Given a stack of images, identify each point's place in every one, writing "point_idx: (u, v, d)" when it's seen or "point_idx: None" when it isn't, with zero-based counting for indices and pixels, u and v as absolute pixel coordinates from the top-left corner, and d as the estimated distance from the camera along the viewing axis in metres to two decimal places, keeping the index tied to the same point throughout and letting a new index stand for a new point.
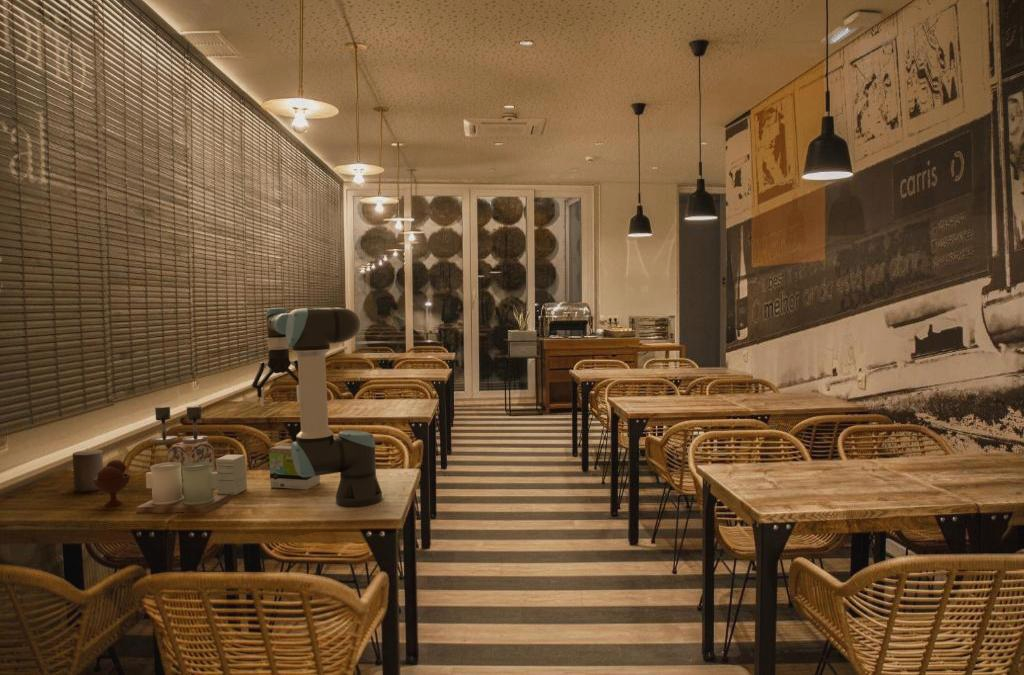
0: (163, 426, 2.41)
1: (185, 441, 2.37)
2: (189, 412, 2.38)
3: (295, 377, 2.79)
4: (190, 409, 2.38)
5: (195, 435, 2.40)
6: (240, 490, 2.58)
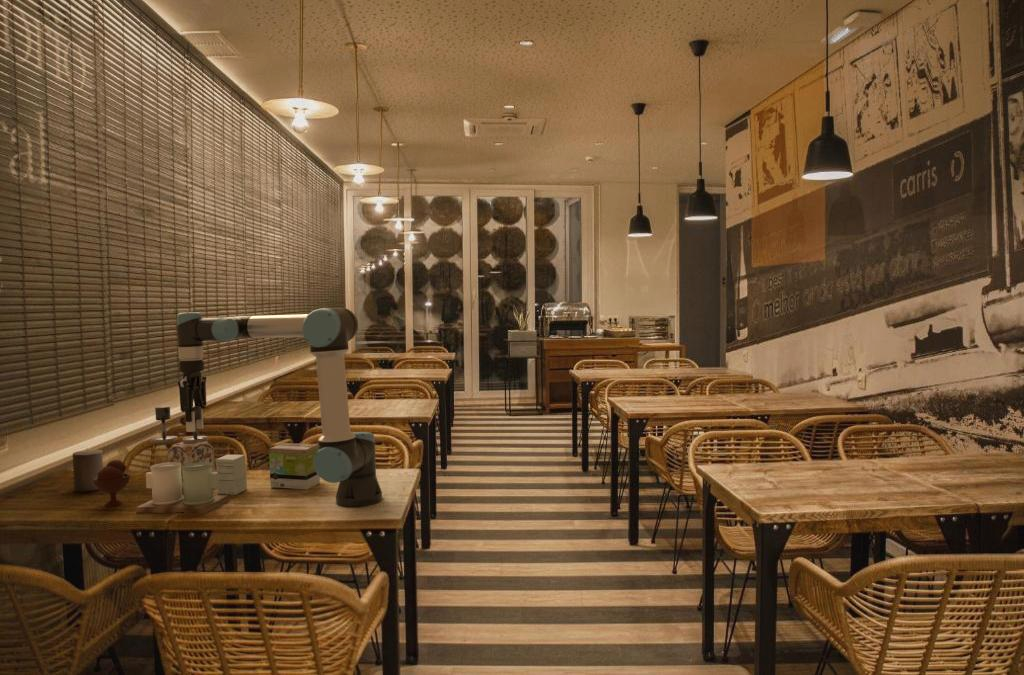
0: (163, 426, 2.41)
1: (185, 441, 2.37)
2: None
3: (201, 397, 2.42)
4: None
5: (195, 435, 2.40)
6: (240, 490, 2.58)
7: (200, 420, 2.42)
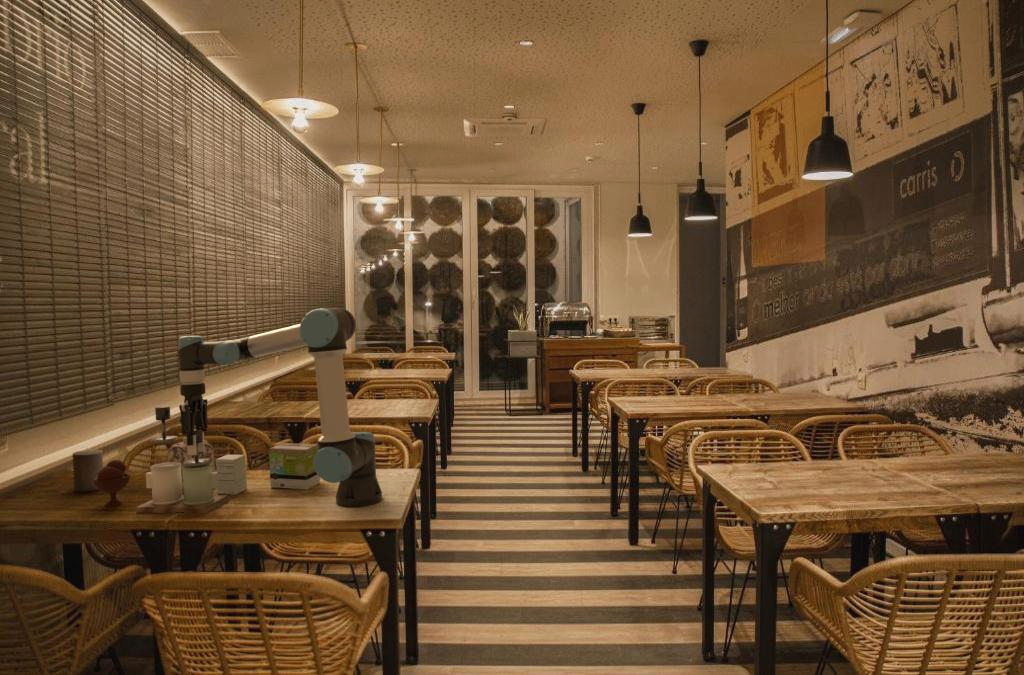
0: (163, 426, 2.41)
1: (186, 465, 2.38)
2: None
3: (202, 420, 2.43)
4: None
5: (196, 458, 2.41)
6: (240, 490, 2.58)
7: (201, 443, 2.43)
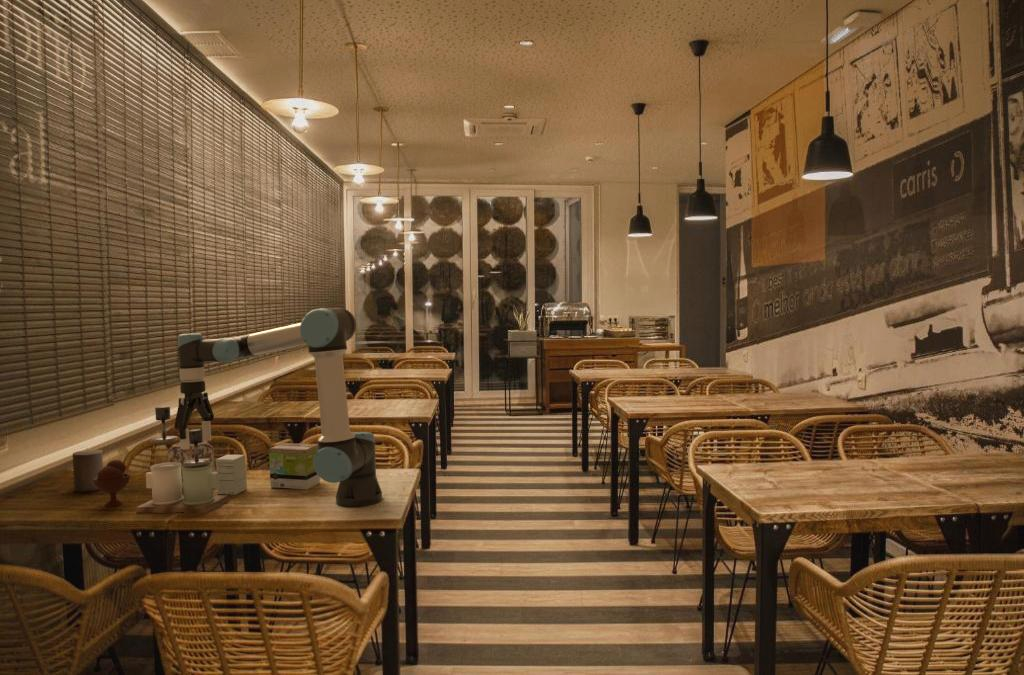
0: (163, 426, 2.41)
1: (186, 465, 2.38)
2: (190, 436, 2.38)
3: (206, 412, 2.46)
4: (191, 433, 2.38)
5: (196, 458, 2.41)
6: (240, 490, 2.58)
7: (208, 432, 2.47)
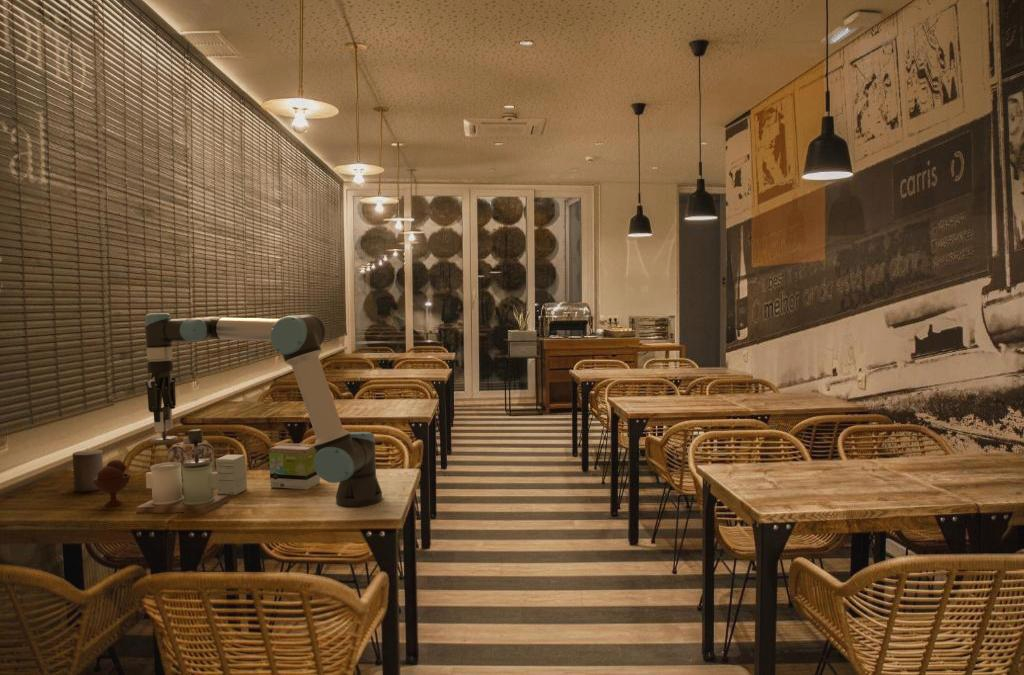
0: None
1: (186, 465, 2.38)
2: (190, 436, 2.38)
3: (170, 397, 2.44)
4: (191, 433, 2.38)
5: (196, 458, 2.41)
6: (240, 490, 2.58)
7: (169, 420, 2.44)
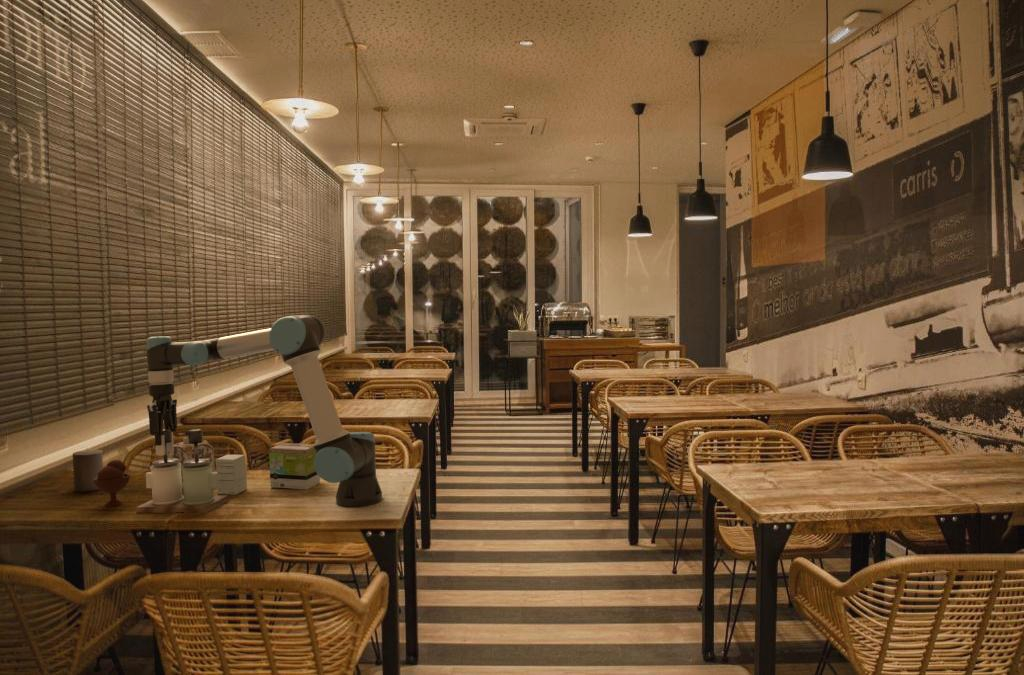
0: None
1: (186, 465, 2.38)
2: (190, 436, 2.38)
3: (171, 420, 2.44)
4: (191, 433, 2.38)
5: (196, 458, 2.41)
6: (240, 490, 2.58)
7: (170, 443, 2.44)
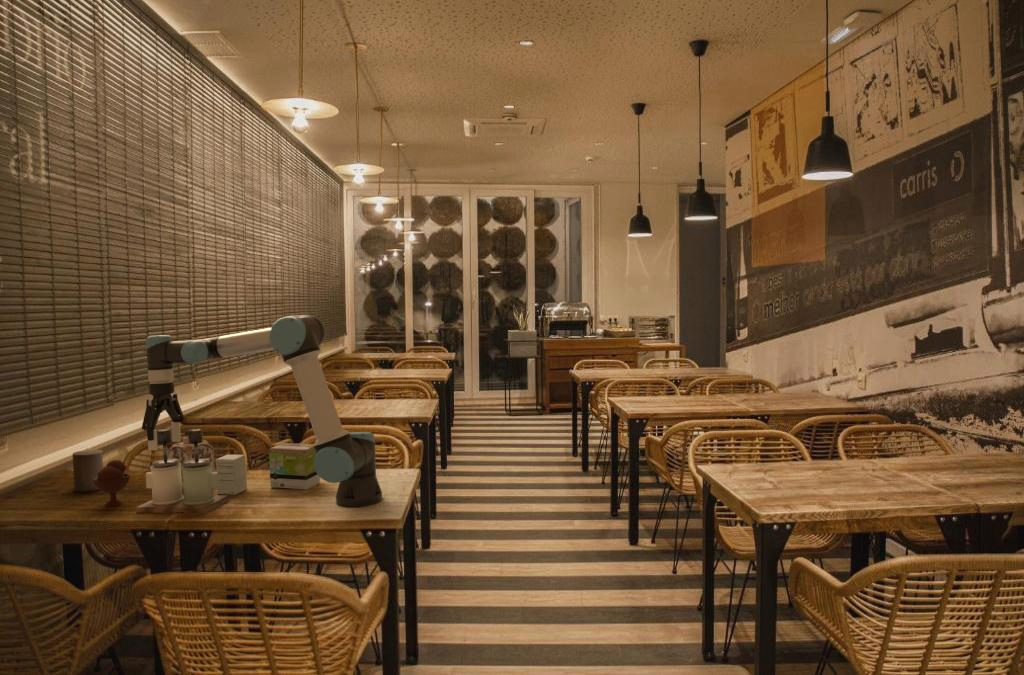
0: (164, 450, 2.42)
1: (186, 465, 2.38)
2: (190, 436, 2.38)
3: (176, 413, 2.47)
4: (191, 433, 2.38)
5: (196, 458, 2.41)
6: (240, 490, 2.58)
7: (177, 433, 2.48)
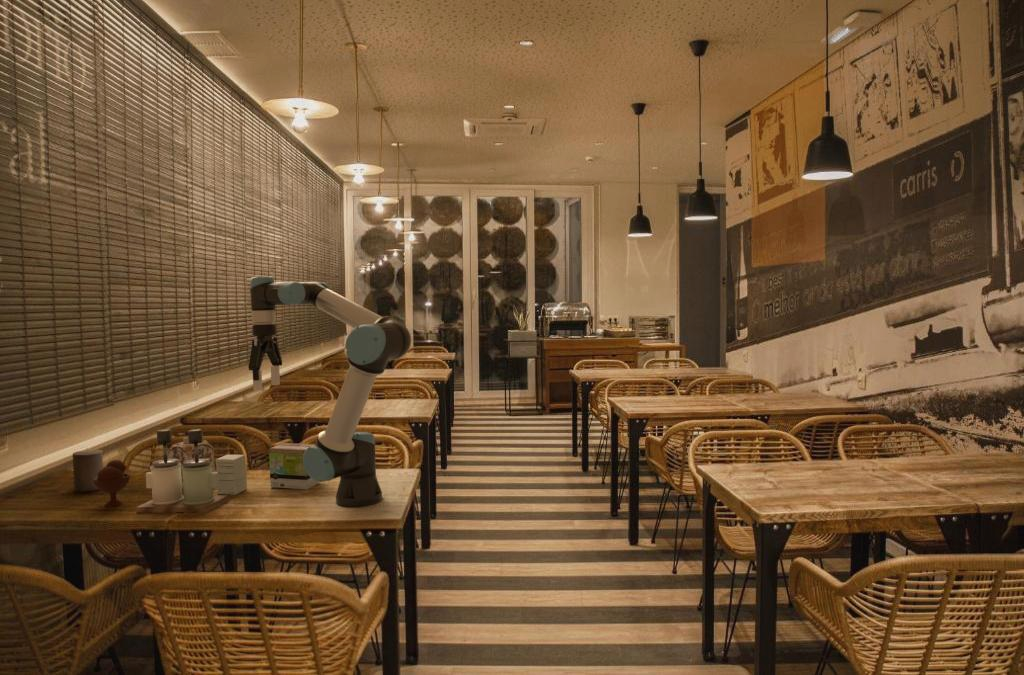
0: (164, 450, 2.42)
1: (186, 465, 2.38)
2: (190, 436, 2.38)
3: (276, 356, 2.47)
4: (191, 433, 2.38)
5: (196, 458, 2.41)
6: (240, 490, 2.58)
7: (277, 376, 2.48)
